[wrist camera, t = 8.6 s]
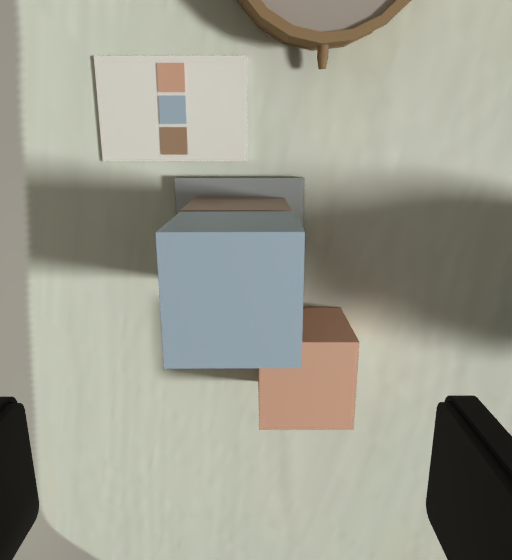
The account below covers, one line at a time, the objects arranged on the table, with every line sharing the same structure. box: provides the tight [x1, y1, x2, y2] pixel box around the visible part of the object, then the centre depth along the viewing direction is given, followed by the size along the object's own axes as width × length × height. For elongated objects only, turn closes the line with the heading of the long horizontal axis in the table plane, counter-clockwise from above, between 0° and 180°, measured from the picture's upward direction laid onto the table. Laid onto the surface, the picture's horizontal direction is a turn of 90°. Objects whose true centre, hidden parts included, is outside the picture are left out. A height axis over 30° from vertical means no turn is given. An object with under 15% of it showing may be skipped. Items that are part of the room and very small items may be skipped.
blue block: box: [155, 211, 305, 369], centre depth 21 cm, size 6×6×6 cm
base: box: [174, 177, 304, 228], centre depth 27 cm, size 8×8×7 cm
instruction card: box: [94, 56, 248, 161], centre depth 28 cm, size 6×9×1 cm, turn 90°
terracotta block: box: [258, 307, 359, 430], centre depth 30 cm, size 6×6×6 cm
